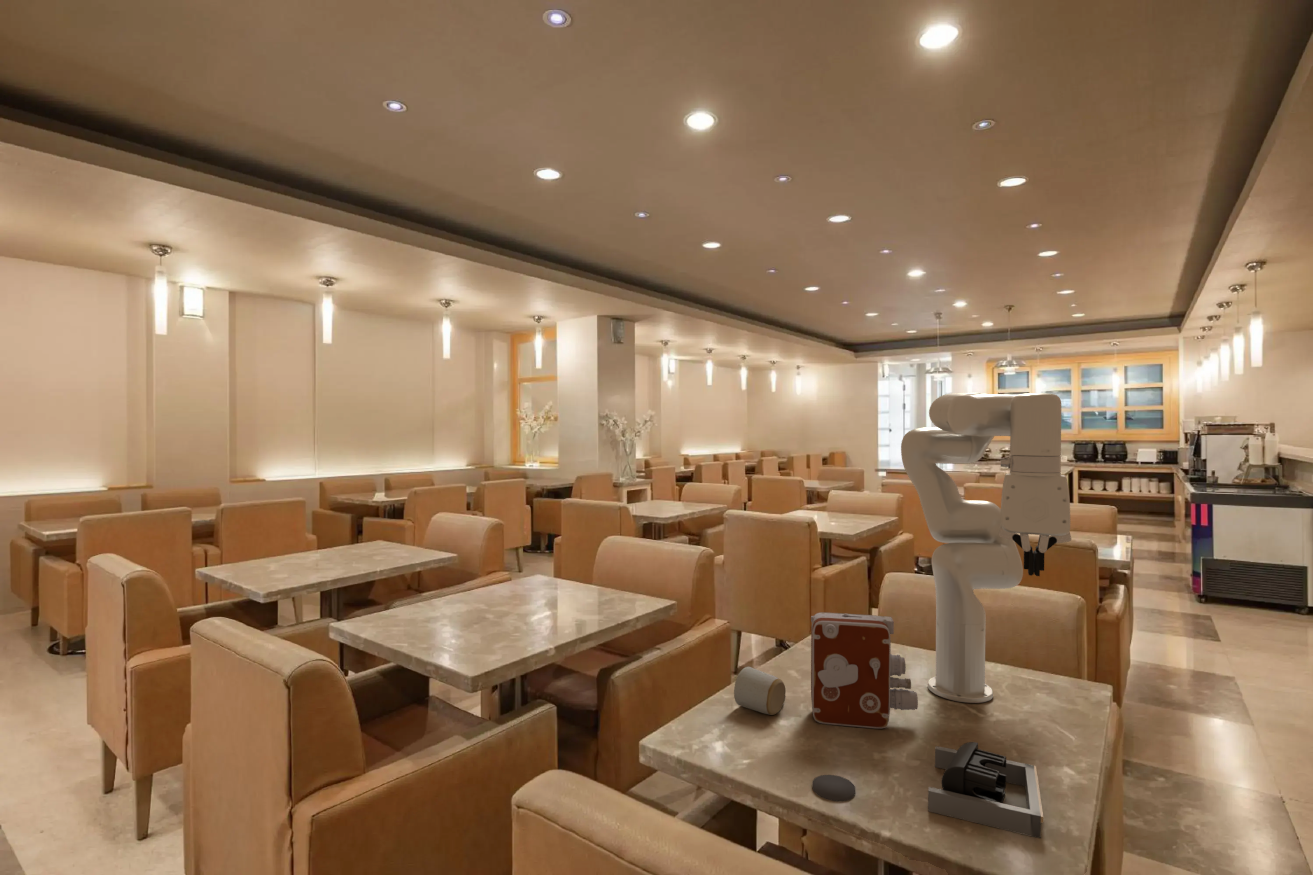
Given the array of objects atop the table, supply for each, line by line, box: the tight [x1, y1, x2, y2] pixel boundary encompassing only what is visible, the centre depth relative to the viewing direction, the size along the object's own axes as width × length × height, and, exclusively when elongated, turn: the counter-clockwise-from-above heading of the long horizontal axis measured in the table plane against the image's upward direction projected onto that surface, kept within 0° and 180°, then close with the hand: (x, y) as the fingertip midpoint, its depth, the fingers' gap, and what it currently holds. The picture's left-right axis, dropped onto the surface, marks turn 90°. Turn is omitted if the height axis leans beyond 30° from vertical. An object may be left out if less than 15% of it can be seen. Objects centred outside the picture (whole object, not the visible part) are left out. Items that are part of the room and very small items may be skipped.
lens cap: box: [811, 774, 856, 802], centre depth 102 cm, size 6×6×1 cm
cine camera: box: [810, 611, 919, 729], centre depth 126 cm, size 9×19×20 cm, turn 78°
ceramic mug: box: [733, 666, 787, 716], centre depth 133 cm, size 11×8×8 cm
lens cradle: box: [927, 745, 1044, 839], centre depth 100 cm, size 15×14×3 cm
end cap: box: [941, 741, 1007, 804], centre depth 100 cm, size 10×7×7 cm
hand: (1033, 574), depth 113 cm, fingers closed
